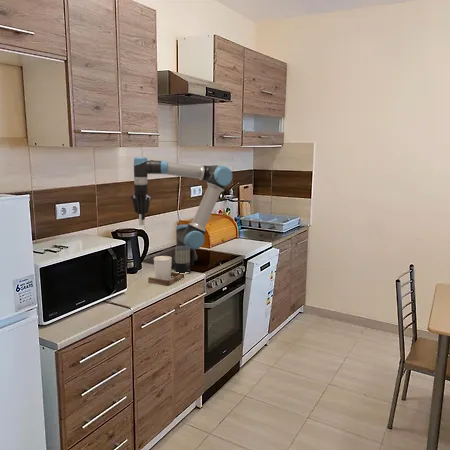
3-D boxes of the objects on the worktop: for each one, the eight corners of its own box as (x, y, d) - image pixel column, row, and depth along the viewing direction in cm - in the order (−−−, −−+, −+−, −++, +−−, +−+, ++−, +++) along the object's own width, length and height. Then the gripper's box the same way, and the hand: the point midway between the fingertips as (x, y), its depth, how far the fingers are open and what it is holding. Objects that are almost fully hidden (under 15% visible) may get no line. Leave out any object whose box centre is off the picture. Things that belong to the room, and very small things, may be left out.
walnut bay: (164, 275, 243) (164, 271, 242) (184, 278, 237) (184, 274, 237) (148, 282, 229) (148, 277, 229) (168, 285, 223) (168, 281, 223)
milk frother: (187, 275, 244) (187, 249, 241) (161, 272, 248) (161, 247, 246) (195, 268, 257) (195, 244, 255) (171, 266, 262) (171, 242, 259)
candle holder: (153, 277, 238) (153, 256, 236) (171, 276, 240) (171, 255, 238) (154, 282, 229) (154, 260, 227) (172, 281, 231) (172, 259, 229)
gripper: (127, 184, 246) (128, 225, 250) (146, 185, 240) (146, 227, 244) (135, 183, 253) (136, 223, 257) (154, 184, 247) (154, 225, 251)
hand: (141, 225), depth 250 cm, fingers closed
